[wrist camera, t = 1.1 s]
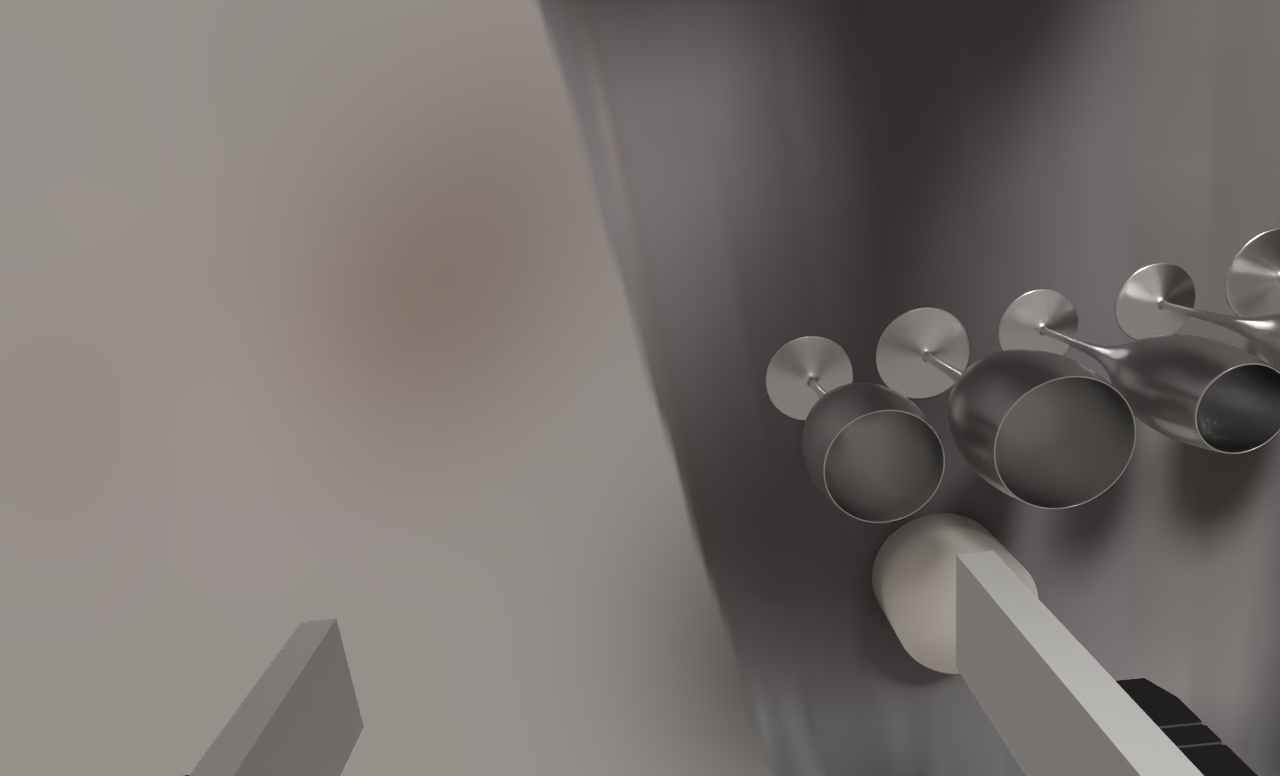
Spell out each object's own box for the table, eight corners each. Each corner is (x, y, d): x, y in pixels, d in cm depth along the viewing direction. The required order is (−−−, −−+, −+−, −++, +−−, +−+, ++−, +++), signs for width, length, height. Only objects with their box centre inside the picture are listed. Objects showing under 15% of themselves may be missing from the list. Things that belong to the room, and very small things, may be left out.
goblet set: (772, 441, 39) (840, 572, 26) (752, 333, 38) (813, 417, 25) (1332, 320, 38) (1688, 397, 25) (1334, 203, 36) (1716, 222, 24)
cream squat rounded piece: (870, 517, 41) (895, 554, 37) (1003, 506, 40) (1042, 542, 37) (871, 633, 42) (895, 679, 39) (998, 622, 42) (1034, 668, 39)
